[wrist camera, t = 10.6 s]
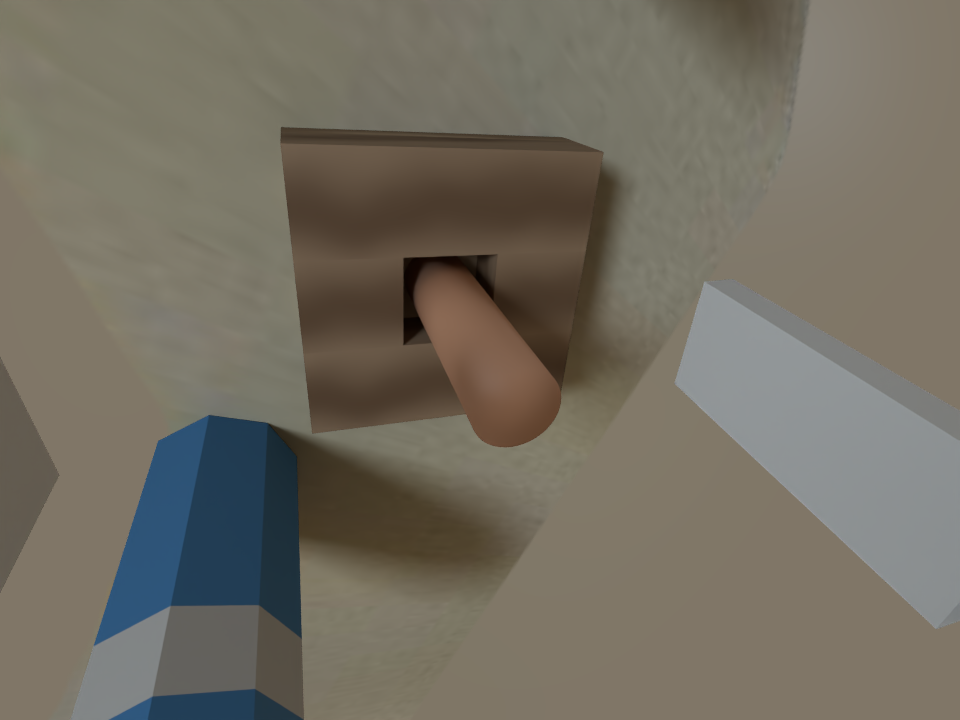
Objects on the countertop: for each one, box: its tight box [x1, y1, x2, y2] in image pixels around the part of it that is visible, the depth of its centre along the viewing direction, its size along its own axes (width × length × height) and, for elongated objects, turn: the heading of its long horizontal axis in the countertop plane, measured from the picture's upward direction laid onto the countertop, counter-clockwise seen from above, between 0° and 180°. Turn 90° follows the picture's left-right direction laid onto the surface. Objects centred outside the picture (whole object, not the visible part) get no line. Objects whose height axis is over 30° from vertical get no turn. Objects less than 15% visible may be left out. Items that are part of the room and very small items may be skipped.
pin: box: [404, 256, 561, 447], centre depth 27 cm, size 4×4×14 cm
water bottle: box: [71, 415, 304, 720], centre depth 26 cm, size 9×9×25 cm
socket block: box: [280, 127, 604, 434], centre depth 32 cm, size 16×16×5 cm
